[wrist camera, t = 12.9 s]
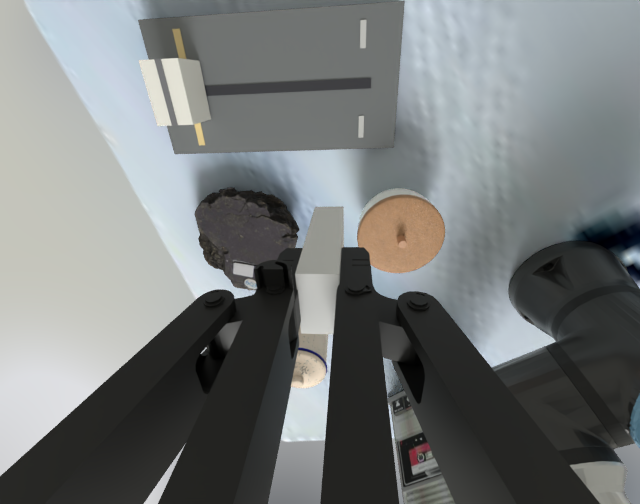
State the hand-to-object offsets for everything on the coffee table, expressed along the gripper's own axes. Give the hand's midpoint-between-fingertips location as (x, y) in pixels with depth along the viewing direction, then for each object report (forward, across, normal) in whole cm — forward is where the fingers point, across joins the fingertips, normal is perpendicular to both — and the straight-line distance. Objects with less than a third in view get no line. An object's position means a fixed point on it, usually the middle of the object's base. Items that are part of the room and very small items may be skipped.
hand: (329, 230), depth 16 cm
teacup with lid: (+28, +7, +35) cm, 45 cm away
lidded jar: (+28, -7, +10) cm, 30 cm away
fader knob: (+23, +18, -7) cm, 30 cm away
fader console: (+27, +8, -7) cm, 29 cm away
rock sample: (+28, +14, +13) cm, 33 cm away
